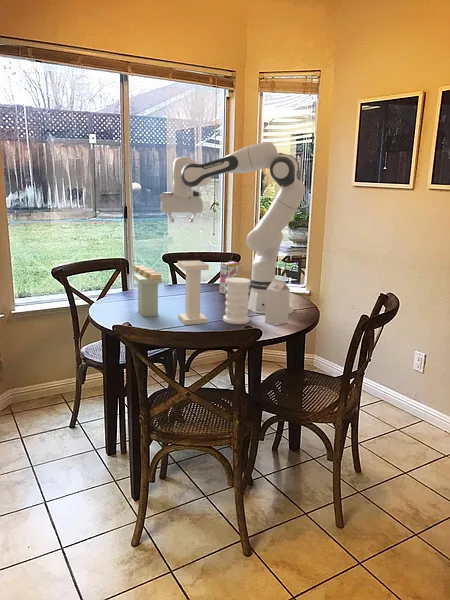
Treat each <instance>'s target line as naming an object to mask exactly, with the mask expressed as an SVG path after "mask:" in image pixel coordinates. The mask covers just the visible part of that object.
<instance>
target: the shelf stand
mask: <svg viewBox="0 0 450 600" xmlns="http://www.w3.org/2000/svg"><path fill="white" fill-rule="evenodd" d="M177 267H179V268H180V269H182V270H183V271H185V313H178V315H177V317H178V320H179V321H180V322H181V323H182V324H183V325H184V326H189V325H199V324H201V325H202V324H208V318H207V317H206V316H205V315H204V314H203V313H201V285H202V284H201V280H202V271H209V270H210V269H209V267H210V266H209V264H207V263H205V262H204V261H201V260H200V259H199V260H177Z"/></svg>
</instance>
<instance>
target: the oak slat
mask: <svg viewBox="0 0 450 600" xmlns="http://www.w3.org/2000/svg"><path fill="white" fill-rule="evenodd" d="M133 271H134V272H135V273H136V274H141V275H143V276H145V277H146V278H148V279H150V280H152V281H155V280H161V278H162V274H161V273H159V272H157V271H155V270H153V269H151V268H148V267H147V266H145V265H142V264H138V265H137V264H136V265H133Z"/></svg>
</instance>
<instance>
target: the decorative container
mask: <svg viewBox="0 0 450 600" xmlns="http://www.w3.org/2000/svg"><path fill="white" fill-rule="evenodd" d="M250 281H251V279H249V278H246V277H245V278H244V277H238V278H227V279H225V283H226V284H227V287H226V291H227V294H226V295H225V303H224V304H225V309H224V313H225V314H224V315H223V316H222V321H223V322H225V323H227V324H232V325H244V324H247V323H250V317H249V316H248V313H249V309H248V305H249V303H248V301H249V297H250V294H249V293H250Z"/></svg>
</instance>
